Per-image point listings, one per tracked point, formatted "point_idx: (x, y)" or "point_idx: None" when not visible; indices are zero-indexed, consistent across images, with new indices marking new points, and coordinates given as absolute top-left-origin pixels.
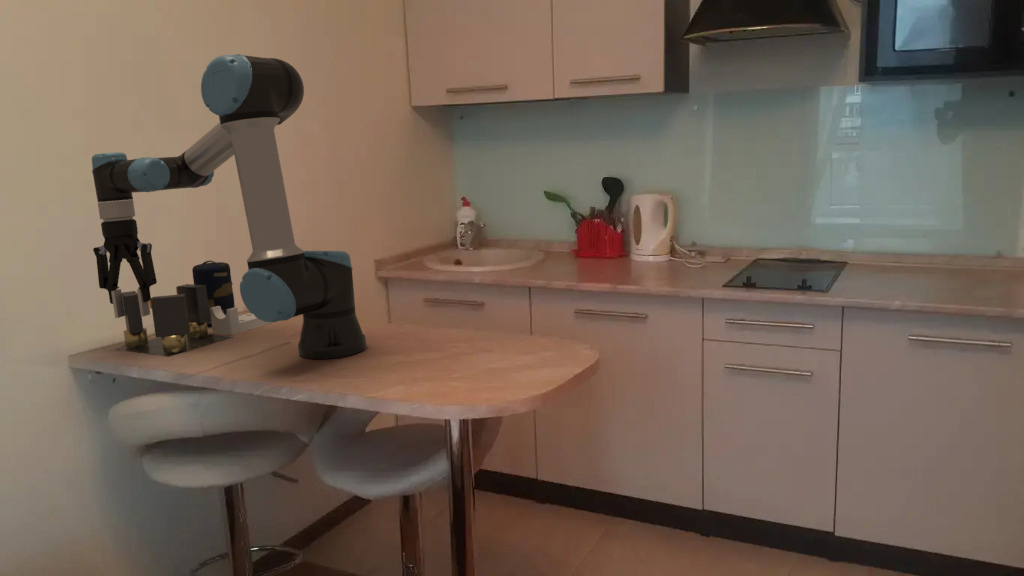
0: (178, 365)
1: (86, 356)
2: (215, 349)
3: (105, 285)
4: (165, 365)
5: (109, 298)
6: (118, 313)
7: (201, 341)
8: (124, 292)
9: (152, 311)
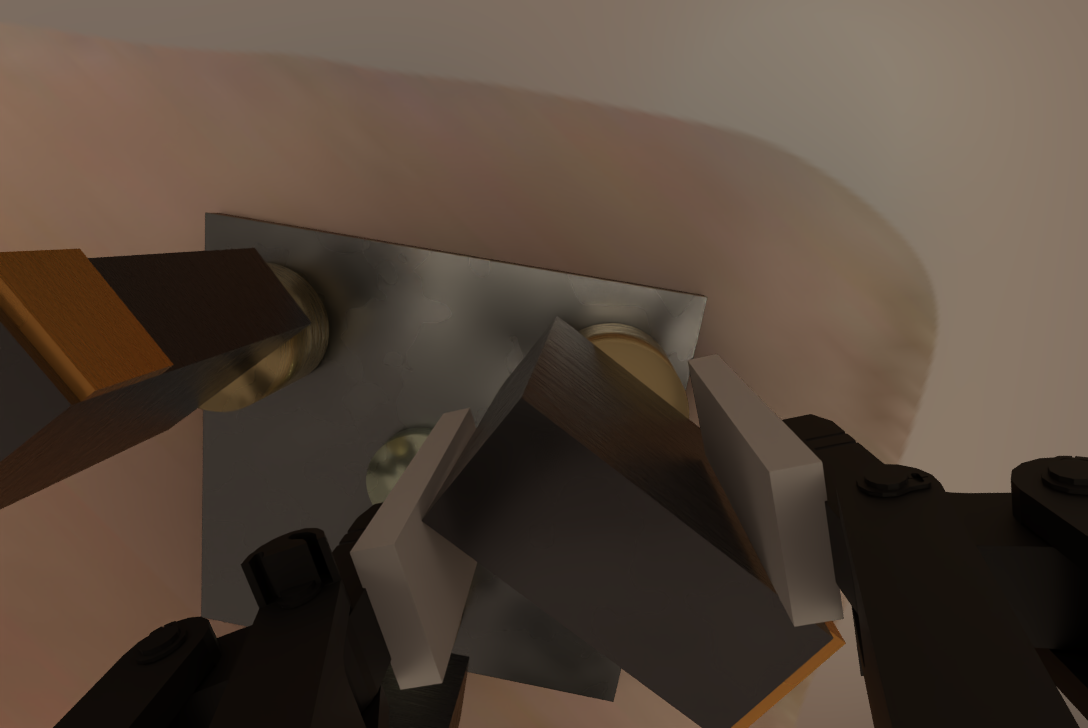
0: (73, 126)
1: (836, 185)
2: (159, 439)
3: (1018, 530)
4: (143, 110)
5: (851, 437)
6: (699, 386)
7: (301, 519)
8: (790, 648)
9: (93, 259)
